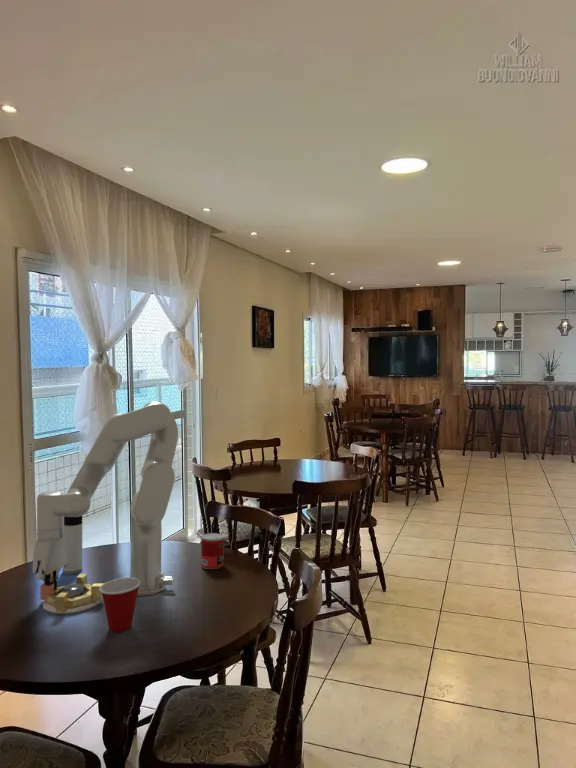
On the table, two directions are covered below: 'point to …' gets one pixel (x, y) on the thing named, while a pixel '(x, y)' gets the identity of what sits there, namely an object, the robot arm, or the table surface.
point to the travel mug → (73, 544)
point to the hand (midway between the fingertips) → (50, 593)
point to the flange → (73, 592)
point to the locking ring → (61, 599)
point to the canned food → (212, 550)
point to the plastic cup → (120, 602)
